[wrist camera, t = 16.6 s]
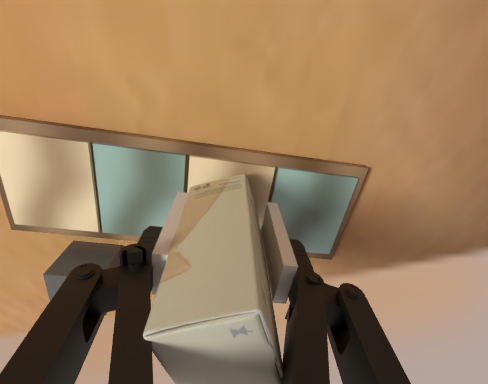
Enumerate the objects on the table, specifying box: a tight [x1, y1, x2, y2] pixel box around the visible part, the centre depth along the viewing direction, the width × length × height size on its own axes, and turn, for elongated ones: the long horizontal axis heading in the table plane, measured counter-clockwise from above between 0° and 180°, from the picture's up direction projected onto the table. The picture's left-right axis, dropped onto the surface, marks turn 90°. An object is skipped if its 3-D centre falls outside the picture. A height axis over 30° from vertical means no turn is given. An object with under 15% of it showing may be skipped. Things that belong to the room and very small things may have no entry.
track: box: [0, 115, 369, 259], centre depth 20 cm, size 27×9×1 cm, turn 81°
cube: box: [43, 241, 122, 315], centre depth 21 cm, size 4×4×4 cm
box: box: [143, 174, 283, 384], centre depth 14 cm, size 5×4×11 cm
